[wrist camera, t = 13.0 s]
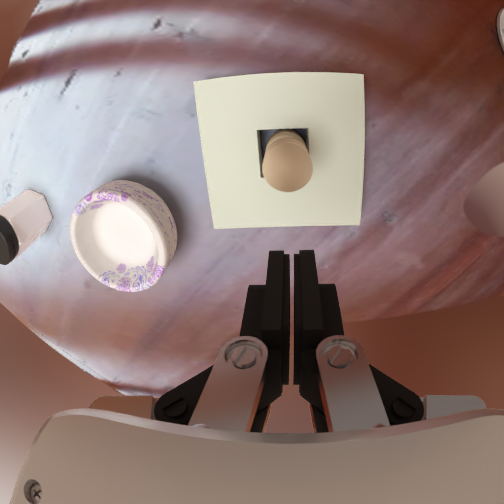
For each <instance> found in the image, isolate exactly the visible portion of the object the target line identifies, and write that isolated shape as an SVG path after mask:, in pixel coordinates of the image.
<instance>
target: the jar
mask: <svg viewBox="0 0 504 504" xmlns="http://www.w3.org/2000/svg"><path fill="white" fill-rule="evenodd" d="M52 218H53V217H52V215H51V212H50V210H49V207H48V205H47V202H46V199H45V197H44V195H42V194H39V193H37V192H34V191H32V190H29V189H27V190H26V191H24V192H23V193H21V194H20V195H18V196H16V197H15V198H13V199H12V200H11V201H9V202H8V203H6V204H5V205H3V206H2V207H0V264H2V265H7V264H9V263H10V262H11V261H12V260H13V259H14V258H17V257H18V256H19V255H20V254H21V253H22V252H23V251H25V250H26V249H27V248H28V247H29V246H30V245H31V244H32V243H33V242H34V241H36V240H37V239H38V238H39V237H40V236H41V235H42V234H43V233H45V232H46V230H47V228H48V226H49V224H50V222H51V220H52Z"/></svg>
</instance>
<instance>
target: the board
mask: <svg viewBox="0 0 504 504" xmlns="http://www.w3.org/2000/svg"><path fill="white" fill-rule="evenodd" d="M194 91H195V99H196V107H197V115H198V123H199V130H200V138H201V145H202V152H203V159H204V166H205V173H206V180H207V187H208V193H209V200H210V206H211V212H212V219H213V225H214V229H222V228H249V227H282V226H329V225H360V218H361V206H362V192H363V175H364V146H365V103H364V76H363V74H352V73H333V72H284V73H264V74H251V75H240V76H231V77H223V78H215V79H208V80H201V81H195V82H194ZM291 128H306V148H307V151H308V153H309V156H310V158H311V161H312V164H313V173H312V176H311V179H310V181H309V182H308V183H307V184H306V185H305V186H304V187H303V188H301V189H299V190H297V191H294V192H282V191H278V190H276V189H274V188H273V187H271V186H270V185H269V184H268V183H267V181H266V180H265V178H264V176H263V171H262V152H261V139H260V130H266V129H291Z"/></svg>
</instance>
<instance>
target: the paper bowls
mask: <svg viewBox="0 0 504 504" xmlns="http://www.w3.org/2000/svg"><path fill="white" fill-rule="evenodd" d="M70 236H71V241H72V244H73V248H74V250H75V252H76V255H77V256H78V258H79V260H80V262H81V263H82V264H83V266H84V267H85V268H86V269H87V271H88V272H89V273H90V274H91V275H93V276H94V277H95V278H96V279H97V280H99V281H100V282H102V283H103V284H105V285H107V286H109V287H111V288H113V289H116V290H120V291H125V292H138V291H142V290H145V289H148V288H150V287H151V286H153V285H154V284H156V283H157V282H158V281H159V279H160V278H161V277H162V276H163V274H164V272H165V270H166V269H167V267H168V265H169V263H170V262H171V260H172V258H173V256H174V253H175V250H176V246H177V229H176V224H175V221H174V219H173V216H172V214H171V212H170V210H169V208H168V207H167V205H166V204H165V202H164V201H163V200H162V198H161V197H159V196H158V195H157V194H156V193H155V192H154V191H152V190H151V189H149V188H147V187H145V186H143V185H141V184H139V183H136V182H133V181H132V182H131V181H129V180H115V181H111V182H108V183H106V184H104V185H102V186H100V187H98V188H97V189H95V190H94V191H92V192H91V193H89V194H88V195H86V196H85V197H84V198H82V199H81V200H80V201H79V202H78V204H77V205H76V207H75V209H74V211H73V214H72V217H71V222H70Z"/></svg>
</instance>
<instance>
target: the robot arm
mask: <svg viewBox="0 0 504 504" xmlns="http://www.w3.org/2000/svg"><path fill="white" fill-rule="evenodd" d="M497 32H498V36H499V40H500V43H501V46H502V49H503V51H504V8H502V9H501V10H500V11H499V13H498V16H497ZM289 349H290V259H289V254H284V251H269V259H268V269H267V279H266V285H249V287H248V292H247V298H246V303H245V309H244V314H243V320H242V326H241V331H240V337H236V338H233V339H231V340H229V341H228V342H227V343H225V344H224V345H223V347H222V348H221V350H220V352H219V354H218V357H217V359H216V361H215V364H214V365H213V366H211V367H209V368H208V369H206V370H204V371H203V372H201V373H199V374H198V375H196V376H194V377H193V378H191V379H189V380H188V381H186V382H184V383H183V384H181V385H179V386H177V387H176V388H174V389H172V390H170V391H169V392H167V393H165V394H164V395H163V396H161V397H160V398H154V397H153V396H152V395H150V396H102V397H99V398H97V399H95V400H94V401H93V402H92V403H91V404H90V406H89V409H87V408H86V409H71V410H66V411H61V412H58V413H56V414H54V415H52V416H50V417H49V418H48V419H47V420H46V421H45V423H44V424H43V425H42V426H41V428H40V430H39V431H38V433H37V435H36V436H35V438H34V440H33V442H32V444H31V446H30V448H29V450H28V453H27V455H26V457H25V460H24V462H23V465H22V467H21V470H20V473H19V476H18V479H17V482H16V485H15V488H14V491H13V495H12V498H11V501H10V504H504V410H499V409H486V406H485V404H484V402H483V401H482V400H481V399H480V398H478V397H476V396H439V395H427V396H426V397H425V398H420V397H419V396H417V395H416V394H415V393H414V392H412V391H410V390H409V389H407V388H405V387H404V386H403V385H401V384H399V383H398V382H396V381H394V380H393V379H391V378H390V377H388V376H386V375H385V374H383V373H382V372H381V371H379V370H377V369H376V368H374V367H373V366H371V365H370V364H368V361H367V358H366V356H365V353H364V351H363V348H362V347H361V345H360V344H359V343H358V342H357V341H356V340H355V339H353V338H351V337H348V336H344V331H343V325H342V319H341V313H340V307H339V302H338V296H337V291H336V286H335V284H318V277H317V269H316V262H315V254H314V250H300V251H299V254H294V383H293V384H294V385H298V384H299V392H300V395H301V396H302V397H303V398H304V399H306V400H307V401H308V402H309V408H310V413H311V419H312V425H313V430H314V433H264V432H265V429H266V425H267V421H268V417H269V414H270V410H271V404H272V402H273V401H274V400H276V399H277V398H278V397H280V396H281V393H282V386H283V385H288V382H289Z"/></svg>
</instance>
